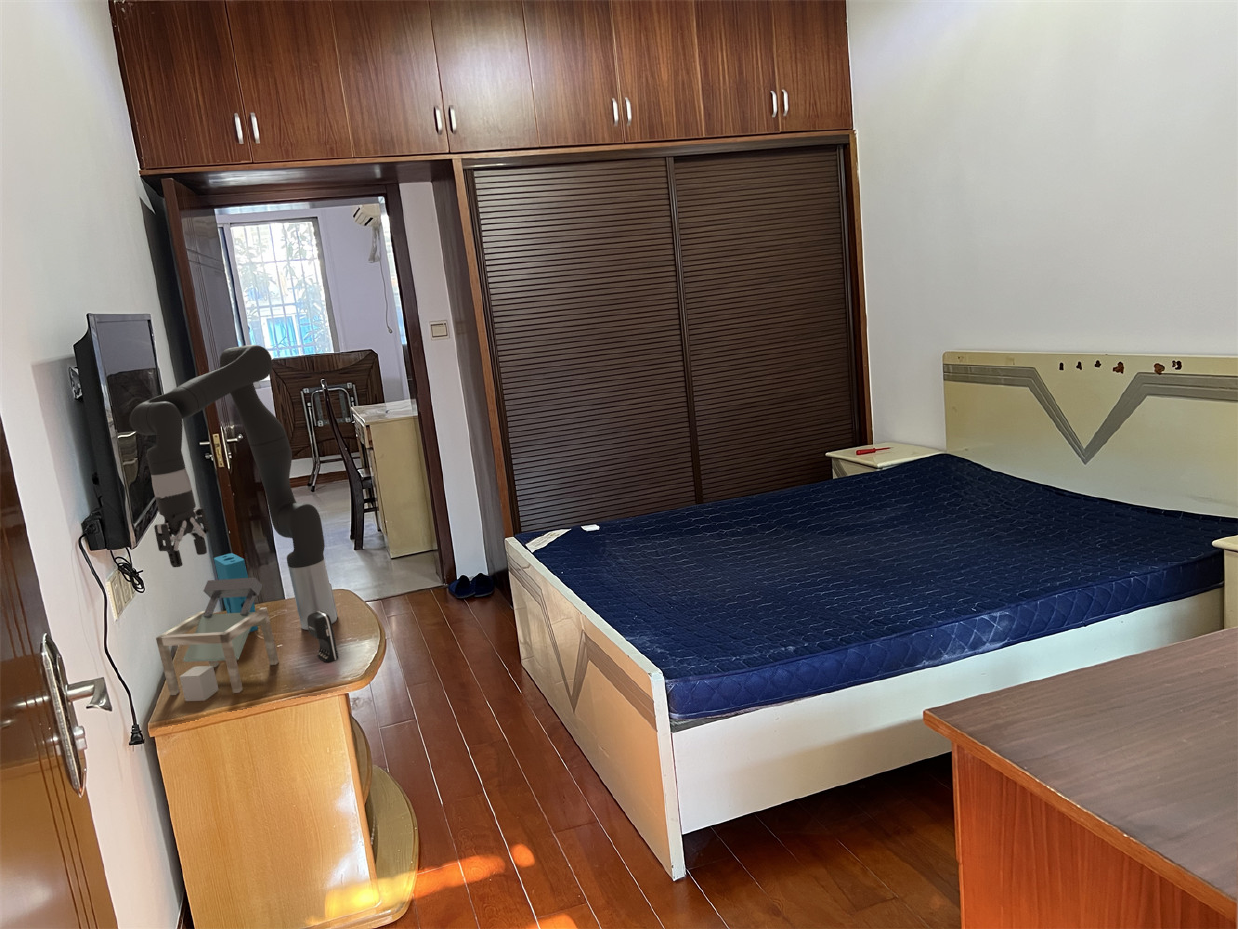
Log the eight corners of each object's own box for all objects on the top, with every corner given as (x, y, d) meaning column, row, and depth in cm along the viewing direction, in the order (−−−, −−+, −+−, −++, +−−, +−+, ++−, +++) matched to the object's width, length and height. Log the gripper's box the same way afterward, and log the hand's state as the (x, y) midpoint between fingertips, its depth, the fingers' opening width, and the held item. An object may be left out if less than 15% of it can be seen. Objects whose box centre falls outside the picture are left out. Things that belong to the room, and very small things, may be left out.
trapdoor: (216, 590, 222) (206, 580, 219) (266, 587, 219) (256, 577, 216) (185, 662, 210) (174, 652, 207) (238, 659, 207) (227, 650, 203)
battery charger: (313, 658, 217) (303, 613, 215) (328, 652, 220) (319, 608, 217) (324, 665, 212) (314, 619, 210) (339, 659, 214) (330, 614, 212)
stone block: (179, 676, 201) (185, 701, 202) (198, 675, 200) (204, 700, 201) (193, 666, 206) (199, 691, 207) (212, 665, 205) (218, 690, 206)
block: (261, 630, 243) (245, 559, 239) (242, 637, 240) (225, 565, 236) (247, 621, 252) (231, 552, 248) (229, 627, 249) (212, 558, 245)
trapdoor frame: (214, 664, 222) (201, 611, 219) (278, 662, 218) (266, 607, 215) (170, 695, 207) (155, 638, 204) (239, 692, 203) (225, 634, 200)
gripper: (180, 484, 209) (196, 551, 212) (136, 501, 195) (154, 572, 198) (208, 481, 207) (224, 549, 210) (166, 498, 193) (183, 570, 197)
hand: (190, 560), depth 204 cm, fingers open, 8 cm apart
